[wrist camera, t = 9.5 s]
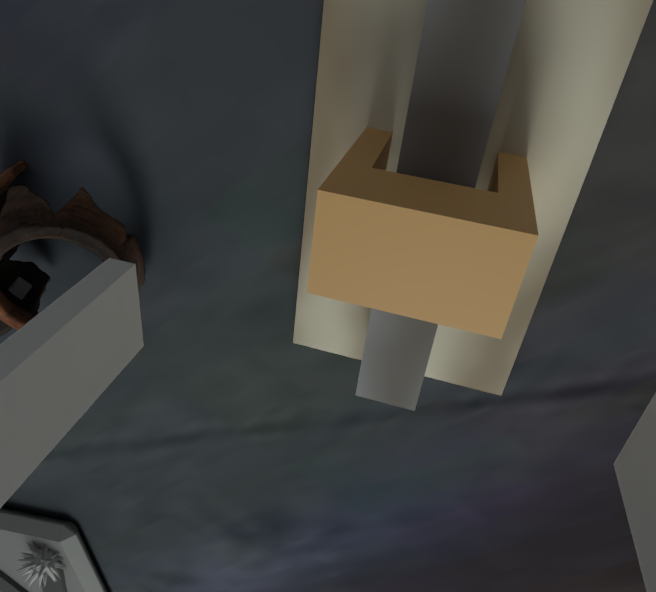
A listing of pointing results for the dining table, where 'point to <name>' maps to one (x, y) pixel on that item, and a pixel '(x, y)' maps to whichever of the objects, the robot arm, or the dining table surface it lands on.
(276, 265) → the dining table surface
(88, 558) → the decorative plate
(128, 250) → the pottery mug
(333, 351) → the rail block
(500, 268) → the clip
